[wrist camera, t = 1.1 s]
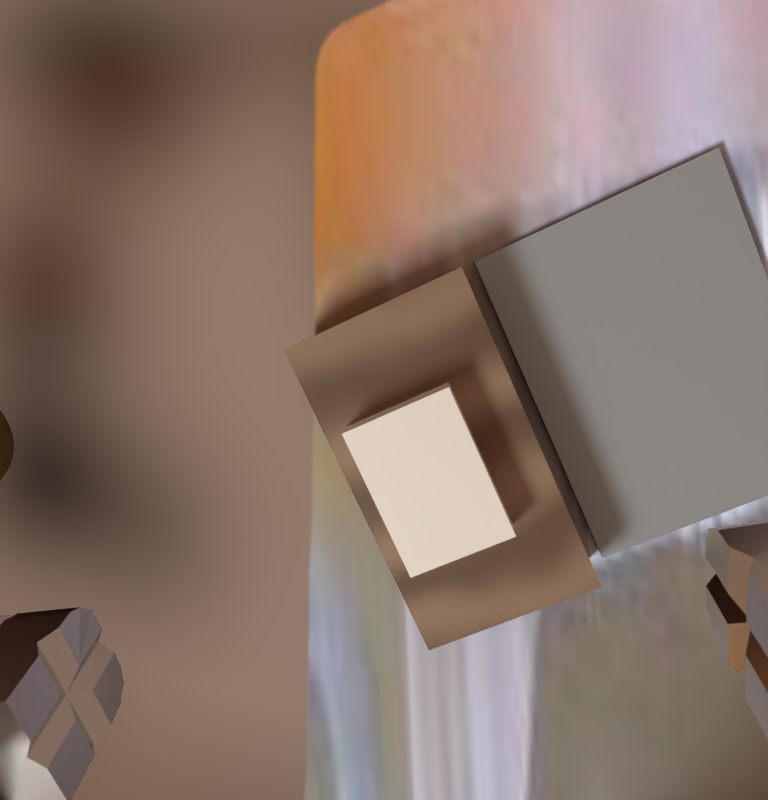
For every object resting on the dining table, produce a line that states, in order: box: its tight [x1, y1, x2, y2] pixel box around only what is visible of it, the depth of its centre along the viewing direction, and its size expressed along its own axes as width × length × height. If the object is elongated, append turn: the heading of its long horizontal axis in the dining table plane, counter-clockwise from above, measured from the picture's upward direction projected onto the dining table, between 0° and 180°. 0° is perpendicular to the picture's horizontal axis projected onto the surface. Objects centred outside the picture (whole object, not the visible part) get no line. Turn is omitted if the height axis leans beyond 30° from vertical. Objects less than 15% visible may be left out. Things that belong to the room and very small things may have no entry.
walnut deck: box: [284, 267, 601, 650], centre depth 42 cm, size 22×12×4 cm, turn 25°
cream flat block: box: [342, 382, 516, 578], centre depth 39 cm, size 10×7×2 cm
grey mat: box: [474, 147, 768, 557], centre depth 42 cm, size 22×16×1 cm
